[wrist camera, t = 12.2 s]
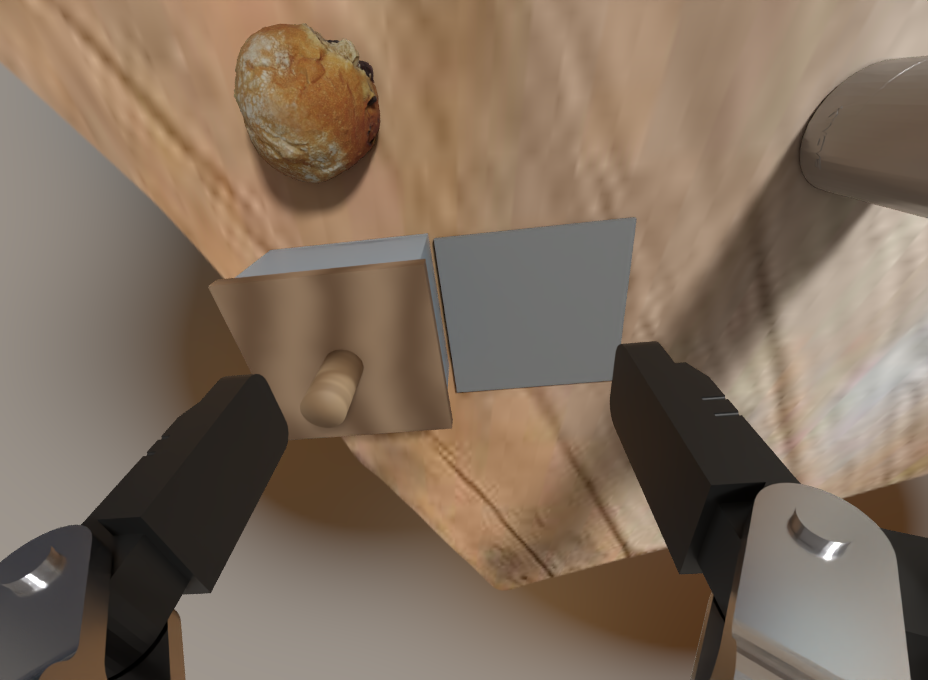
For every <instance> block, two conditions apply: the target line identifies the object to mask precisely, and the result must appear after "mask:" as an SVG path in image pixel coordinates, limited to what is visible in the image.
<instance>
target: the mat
mask: <svg viewBox="0 0 928 680" xmlns="http://www.w3.org/2000/svg"><path fill="white" fill-rule="evenodd" d="M635 227H636V218H635V217H632V218H622V219H613V220H603V221H594V222H584V223H575V224H565V225H556V226H546V227H537V228H527V229H518V230H508V231H499V232H489V233H480V234H470V235H461V236H451V237H442V238H434V245H435V251H436V258H437V264H438V271H439V277H440V284H441V290H442V297H443V303H444V310H445V316H446V323H447V329H448V336H449V343H450V349H451V356H452V362H453V369H454V375H455V382H456V388H457V392H470V391H483V390H496V389H509V388H521V387H534V386H547V385H560V384H572V383H585V382H598V381H611V380H612V377H613V369H614V360H615V353H616V349H617V346H618V345H619V344H621V338H622V330H623V322H624V314H625V306H626V298H627V290H628V283H629V275H630V267H631V259H632V251H633V243H634V235H635Z"/></svg>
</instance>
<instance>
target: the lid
mask: <svg viewBox="0 0 928 680" xmlns="http://www.w3.org/2000/svg"><path fill="white" fill-rule="evenodd" d="M208 287H209V289H210V291H211V293H212V295H213V297H214V299H215V301H216V303H217V305H218V307H219V309H220V311H221V313H222V315H223V317H224V319H225V321H226V323H227V325H228V327H229V329H230V331H231V333H232V335H233V337H234V339H235V341H236V343H237V345H238V347H239V349H240V351H241V353H242V355H243V357H244V359H245V361H246V363H247V365H248V367H249V369H250V371H251V373H252V374H260V375H262V376H263V377H264V378H265V379H266V380H267V382H268V384H269V386H270V388H271V390H272V393H273V395H274V397H275V399H276V401H277V403H278V405H279V407H280V409H281V411H282V413H283V415H284V417H285V420H286V422H287V425H288V432H289V436H288V440H298V439H311V438H325V437H340V436H353V435H367V434H381V433H395V432H409V431H423V430H437V429H451V428H452V421H453V419H452V413H451V407H450V401H449V395H448V389H447V383H446V377H445V372H444V366H443V360H442V354H441V348H440V342H439V336H438V330H437V324H436V318H435V312H434V306H433V301H432V295H431V289H430V283H429V277H428V271H427V265H426V259H417V260H407V261H397V262H387V263H378V264H368V265H358V266H348V267H338V268H328V269H319V270H309V271H299V272H289V273H279V274H269V275H260V276H250V277H240V278H230V279H220V280H216V281H215V282H214V283H212V284H211V285H210V286H208Z"/></svg>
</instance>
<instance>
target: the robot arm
mask: <svg viewBox="0 0 928 680" xmlns="http://www.w3.org/2000/svg"><path fill="white" fill-rule="evenodd" d="M800 165H801V169H802V173H803V174H804V176H805V178H806V179H807V181H808V182H809V183H811V184H812V185H813V186H814V187H816V188H819V189H821V190H824V191H827V192H831V193H835V194H839V195H842V196H846V197H850V198H854V199H858V200H861V201H864V202H868V203H872V204H875V205H879V206H883V207H887V208H891V209H894V210H898V211H902V212H906V213H910V214H913V215H917V216H921V217H925V218H928V56H919V57H908V58H898V59H889V60H884V61H881V62H878V63H875V64H872V65H869V66H868V67H866V68H864V69H862V70H860V71H858V72H856V73H855V74H853V75H852V76H851V77H849V78H848V79H846V80H845V81H844V82H842V83H841V84H840V85H839V86H838V87H837V88H836V89H835V90H834V91H833V92H832V93H830V94H829V95H828V97H827V98H826V99H825V100H824V101H823V103H822V104H821V105H820V106H819V108H818V109H817V110H816V112H815V114H814V115H813V117H812V119H811V120H810V122H809V124H808V126H807V129H806V131H805V134H804V136H803V139H802V144H801V148H800ZM610 411H611V417H612V421H613V424H614V427H615V429H616V432H617V434H618V436H619V438H620V441H621V443H622V445H623V447H624V450H625V452H626V454H627V457H628V459H629V461H630V463H631V466H632V468H633V470H634V472H635V475H636V477H637V479H638V481H639V484H640V486H641V488H642V491H643V493H644V495H645V497H646V500H647V502H648V504H649V506H650V509H651V511H652V513H653V515H654V518H655V520H656V522H657V525H658V527H659V529H660V531H661V534H662V536H663V538H664V540H665V543H666V545H667V547H668V549H669V552H670V554H671V556H672V559H673V561H674V563H675V565H676V568H677V570H678V572H679V574H697V573H703V575H704V577H705V578H706V580H707V583H708V584H709V587H710V589H711V590H712V593H711V596H710V598H709V602H708V606H707V611H706V615H705V619H704V623H703V628H702V632H701V636H700V640H699V645H698V649H697V653H696V658H695V662H694V666H693V671H692V675H691V680H928V538H925V537H920V536H915V535H910V534H905V533H901V532H896V531H891V530H886V529H882V528H879V527H878V526H877V525H876V524H875V523H874V522H873V521H872V520H871V519H870V518H869V517H868V516H866V515H865V514H864V513H862V512H861V511H860V510H858V509H857V508H856V507H854V506H853V505H851V504H850V503H848V502H846V501H845V500H843V499H841V498H839V497H837V496H835V495H833V494H831V493H828V492H826V491H823V490H821V489H818V488H815V487H811V486H807V485H803V484H801V483H800V482H799V481H798V480H797V479H796V478H795V477H794V476H793V474H792V473H791V472H790V471H789V470H788V469H787V467H786V466H785V465H784V464H783V463H782V462H781V460H780V459H779V458H778V457H777V456H776V455H775V453H774V452H773V451H772V450H771V449H770V448H769V446H768V445H767V444H766V443H765V442H764V441H763V439H762V438H761V437H760V436H759V435H758V434H757V432H756V431H755V430H754V429H753V428H752V427H751V425H750V424H749V423H748V422H747V421H746V420H745V418H744V417H743V416H742V415H741V416H739V414H738V410H737V409H736V408H735V407H734V406H733V404H732V403H731V402H730V401H729V400H728V399H725V395H724V394H723V393H722V392H721V390H720V389H719V388H718V387H717V386H716V385H715V383H714V382H713V381H712V380H711V379H710V378H709V377H708V376H707V375H705V374H703V373H702V372H700V371H699V370H697V369H695V368H694V367H692V366H690V365H689V364H687V363H686V362H685V363H674V361H673V360H672V359H671V358H670V356H669V355H668V354H667V352H666V351H665V350H664V349H663V347H662V346H661V345H660V344H659V343H658V342H656V341H652V342H640V343H629V344H619V345H618V346H617V349H616V353H615V360H614V369H613V377H612V386H611V394H610ZM288 436H289V432H288V425H287V422H286V420H285V417H284V415H283V413H282V411H281V409H280V407H279V405H278V403H277V401H276V399H275V397H274V395H273V393H272V390H271V388H270V386H269V384H268V382H267V380H266V379H265V378H264V377H263V376H262V375H260V374H250V375H237V376H226V377H223V378H221V379H220V380H219V381H218V382H217V383H216V384H215V385H214V386H213V387H212V389H211V390H210V391H209V392H208V393H207V394H206V395H205V397H204V398H203V399H202V400H201V401H200V402H199V403H197V404H196V405H195V406H193V407H192V408H190V409H189V410H188V411H186V412H185V413H183V414H182V415H181V416H179V417H178V418H177V419H176V421H175V422H174V423H173V424H172V425H171V426H170V427H169V428H168V430H166V432H165V433H164V434H163V435H162V439H161V440H158V441H157V442H156V443H155V444H154V445H153V446H152V447H151V448H150V449H149V450H148V452H147V456H143V457H142V458H141V459H140V460H139V462H138V463H137V464H136V465H135V466H134V467H133V468H132V469H131V470H130V472H129V473H128V474H127V475H126V476H125V477H124V478H123V479H122V480H121V481H120V482H119V484H118V485H117V486H116V487H115V488H114V489H113V490H112V491H111V492H110V493H109V495H108V496H107V497H106V498H105V499H104V500H103V501H102V502H101V503H100V505H99V506H98V507H97V508H96V509H95V510H94V511H93V512H92V513H91V515H90V516H89V517H88V518H87V519H86V520H85V521H84V522H83V523H82V524H81V525H69V526H65V527H60V528H57V529H55V530H52V531H49V532H47V533H45V534H42V535H41V536H39V537H37V538H35V539H33V540H31V541H29V542H28V543H26V544H24V545H23V546H21V547H20V548H18V549H17V550H16V551H14V552H13V553H11V554H10V555H9V556H8V557H6V558H5V559H4V560H2V561H1V562H0V680H185V668H184V655H183V642H182V630H181V620H180V616H179V614H178V612H177V611H176V610H175V609H174V608H175V606H176V605H177V603H178V601H179V599H180V597H181V596H182V594H203V593H211V592H212V590H213V588H214V585H215V584H216V582H217V580H218V578H219V576H220V574H221V572H222V570H223V568H224V566H225V565H226V562H227V561H228V559H229V557H230V555H231V553H232V551H233V549H234V547H235V545H236V543H237V541H238V540H239V537H240V536H241V534H242V532H243V530H244V528H245V526H246V524H247V522H248V520H249V518H250V516H251V514H252V512H253V511H254V508H255V507H256V505H257V503H258V501H259V499H260V497H261V495H262V493H263V491H264V489H265V487H266V486H267V484H268V482H269V480H270V478H271V476H272V474H273V472H274V470H275V468H276V466H277V464H278V462H279V461H280V458H281V457H282V455H283V453H284V451H285V449H286V446H287V443H288Z"/></svg>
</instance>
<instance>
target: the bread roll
mask: <svg viewBox="0 0 928 680" xmlns="http://www.w3.org/2000/svg"><path fill="white" fill-rule="evenodd" d="M235 71H236V78H235V90H234V92H235V94H234V97H235V99H236V101H237V103H238V105H239V108H240V111H241V113H242V115H243V117H244V123H245V126H246V128H247V131H248V134H249V136H250V139H251V141H252V143H253V144H254V146H255V148H256V150H257V151H258V153H259V154H260V155H261V157H262V158H263V159H264V160H265V161H266V162H267V163H268V164H269V165H271V166H272V167H273V168H274V169H276V170H277V171H279V172H281V173H282V174H284V175H286V176H289V177H291V178H294V179H297V180H299V181H305V182H311V183H319V182H323V181H326V180H328V179H331V178H333V177H336V176H337V175H339V174H340V173H342V172H343V171H344V170H347V169H349V168H350V167H351V166H353V165H354V164H356V163H357V162H358V161H359V159H361V158H363V157H364V156H365V154H366V153H367V152H368V151H369V150H371V148H372V147H373V145H374V142H375V138H376V135H377V132H378V130H379V126H380V110H379V104H378V94H377V90H376V87H375V85H374V80H373V69H372V66H371V65H369V63H367V62H364V61H359V52H358V51H357V50H356V49H355V47H354V45H353V44H352V42H351V41H348V40H347V39H342V40H341V41H338V40H334V41H333V40H325V39H324V38H323V37H322V36H321V34H319V33H318V32H316V31H314V30H313V29H312V28H311V27H309V26H308V25H307V24H306V23H303V24H300V25H296V24H294V25H289V24H277V25H273V26H269V27H264V28H262V29H261V30H259V31H258V32H256V33H254V34H252V35H251V36H250V37H249V38H248V39H247V40H246V42H245V44H244V45H243V46H242V47H241V50H240V53H239V56H238V59H237V64H236V69H235Z"/></svg>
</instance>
